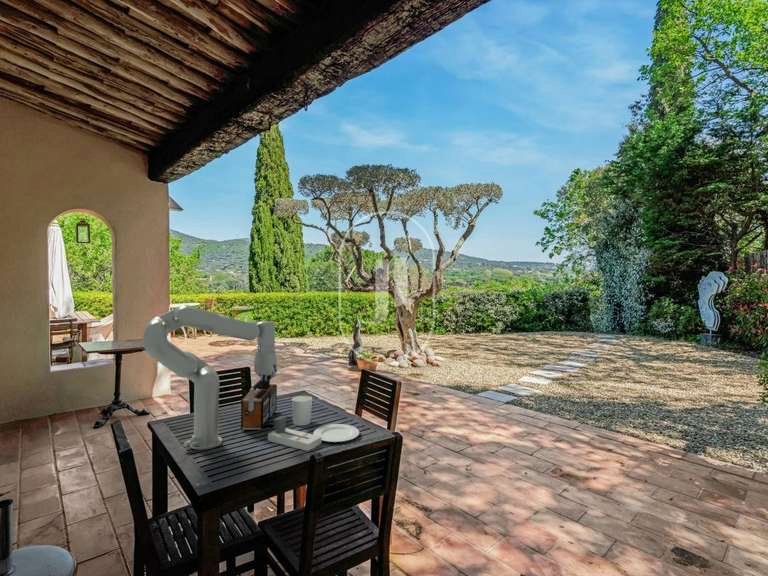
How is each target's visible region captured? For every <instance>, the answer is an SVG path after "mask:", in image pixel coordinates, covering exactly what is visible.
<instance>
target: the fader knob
mask: <svg viewBox="0 0 768 576" xmlns="http://www.w3.org/2000/svg"><path fill="white" fill-rule="evenodd" d="M287 421H288V416H285V415H280V416H277V417H275V418H273V424H274V427H275V428H274V431H275V432H276V433H281V432H283V431H285V430H286V428H287V427H286V425H287V423H286V422H287Z"/></svg>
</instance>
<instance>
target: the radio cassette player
mask: <svg viewBox="0 0 768 576" xmlns="http://www.w3.org/2000/svg"><path fill="white" fill-rule="evenodd" d="M277 394H278V385H277V384H276V383H275V384H273V383H270V388H269V389H267V390H263V389H262V380H261V379H259V380H258V381H257V382H256V383H255V384H254V385H253V386H251V388H250V389H249V392H248V393H247V394H246V395H245V396H244V397H243V398H242V399H241V401H240V402H241V403H240V407H241V408H240V409H241V411H240V429H241V430H243V431H244V430H245V431H246V430H253V431H256V430H257V431H261V430H263V429H264V427H265V426H266V425H267V423H268V421H269V420H271V417H272V416H273V414H274V413H275V412H276V411H277V410H278V409H277V406H278V405H277V401H278V400H277V398H278V395H277Z"/></svg>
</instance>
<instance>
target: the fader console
mask: <svg viewBox="0 0 768 576" xmlns="http://www.w3.org/2000/svg"><path fill="white" fill-rule="evenodd" d="M267 441H268V442H272V443H275V444H279V445H283V446H287V447H290V448H295V449H299V450H302V451H306V452H310V451H311V449H312V450H313V449H315V448H316V446H317V447H318V446H320V445H321V444H322V442H323V441H322V437H321V436H317V435H314V433H313V434H312V433H309V432H303V431H299V430H295V429H291V428H289V427H286V430H285V431H283V432H281V433H276V432H275V430H273V431H271V432H269V433H267ZM309 450H310V451H309Z"/></svg>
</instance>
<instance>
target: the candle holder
mask: <svg viewBox="0 0 768 576" xmlns="http://www.w3.org/2000/svg"><path fill="white" fill-rule="evenodd" d="M291 402H292V403H291V405H292V407H291V408H292V423H293V425H295V426H300V427H301V426H302V427H303V426H308V425H310V423H311V420H312V407H313V406H312V404H313V397H312V396H309V395H297V396H294V397H292V398H291Z"/></svg>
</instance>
